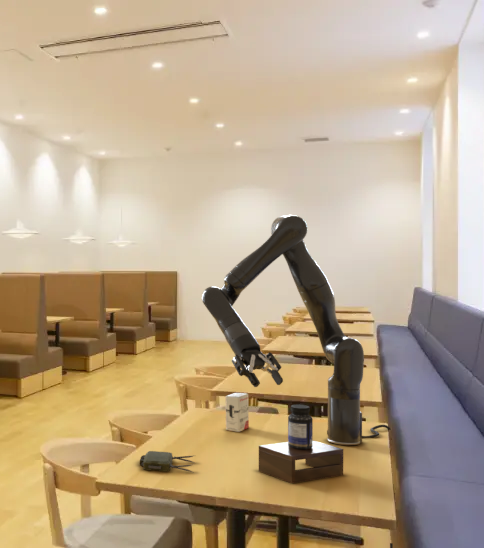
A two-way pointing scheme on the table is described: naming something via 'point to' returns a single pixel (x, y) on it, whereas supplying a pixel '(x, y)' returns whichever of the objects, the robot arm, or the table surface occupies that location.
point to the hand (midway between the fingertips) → (269, 384)
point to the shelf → (282, 459)
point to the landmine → (161, 461)
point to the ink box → (237, 412)
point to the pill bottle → (300, 427)
